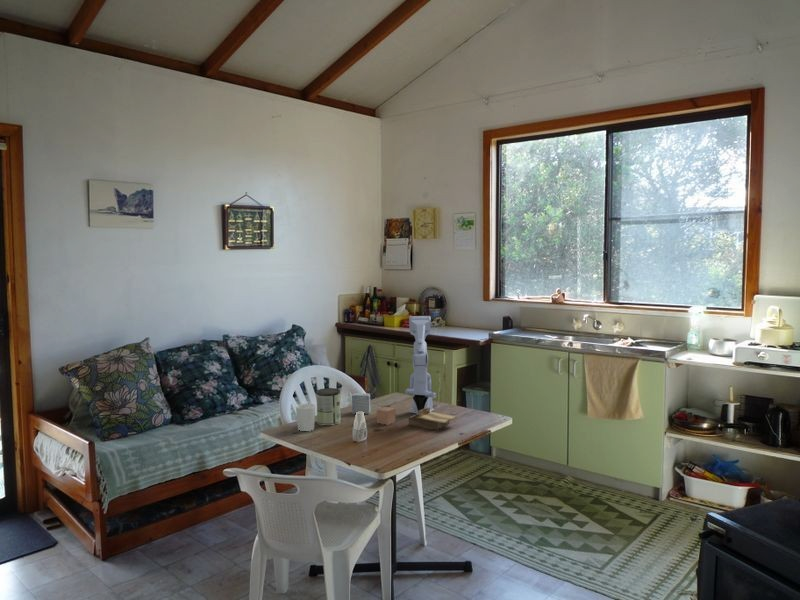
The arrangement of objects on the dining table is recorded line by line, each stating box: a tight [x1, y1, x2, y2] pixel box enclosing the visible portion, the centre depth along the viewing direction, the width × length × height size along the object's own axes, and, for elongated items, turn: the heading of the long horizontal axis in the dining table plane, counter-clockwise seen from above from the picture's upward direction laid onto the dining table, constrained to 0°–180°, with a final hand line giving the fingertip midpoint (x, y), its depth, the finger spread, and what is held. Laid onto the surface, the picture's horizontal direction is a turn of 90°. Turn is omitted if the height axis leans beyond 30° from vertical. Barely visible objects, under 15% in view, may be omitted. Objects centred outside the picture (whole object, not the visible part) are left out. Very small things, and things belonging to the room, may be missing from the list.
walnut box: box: [408, 413, 450, 431], centre depth 263 cm, size 10×14×3 cm
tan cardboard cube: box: [376, 406, 396, 426], centre depth 266 cm, size 6×6×6 cm
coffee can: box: [315, 387, 342, 426], centre depth 267 cm, size 10×10×14 cm
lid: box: [416, 407, 457, 423], centre depth 260 cm, size 10×14×3 cm
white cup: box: [295, 403, 316, 432], centre depth 257 cm, size 8×8×10 cm
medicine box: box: [351, 392, 372, 415], centre depth 282 cm, size 8×4×9 cm, turn 84°
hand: (420, 412), depth 265 cm, fingers closed
